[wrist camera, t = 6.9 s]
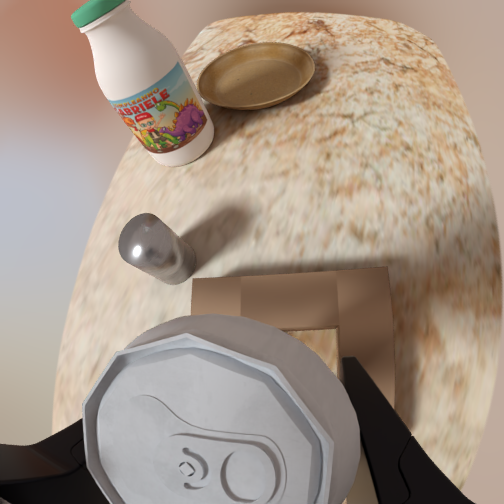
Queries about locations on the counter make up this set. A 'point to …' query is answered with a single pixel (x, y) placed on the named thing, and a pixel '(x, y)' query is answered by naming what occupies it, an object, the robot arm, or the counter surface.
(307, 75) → the plant saucer
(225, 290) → the walnut collar
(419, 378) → the counter surface
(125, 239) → the short steel pin
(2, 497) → the robot arm
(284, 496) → the beer can
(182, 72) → the milk bottle
